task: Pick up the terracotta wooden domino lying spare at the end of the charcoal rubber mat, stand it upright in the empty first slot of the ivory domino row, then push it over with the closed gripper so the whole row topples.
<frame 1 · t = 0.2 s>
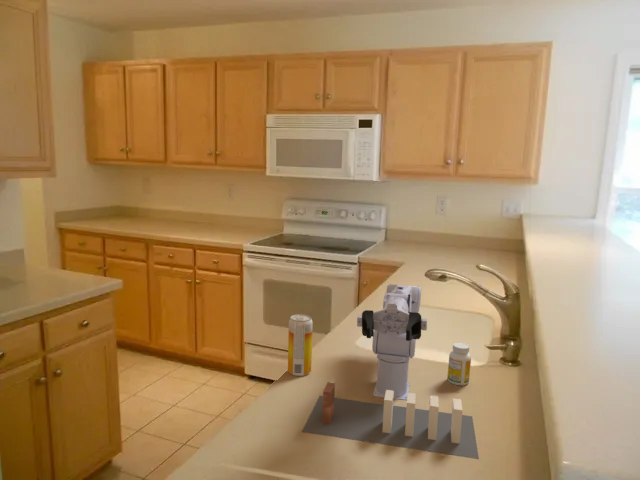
hand: (387, 334, 95), 21 cm above the worktop, tool horizontal, fingers open, 7 cm apart
charcoal mat: (390, 425, 102), on the worktop
supplement bottle: (458, 382, 124), on the worktop
beer can: (299, 374, 126), on the worktop
terracotta domino: (328, 418, 103), resting on charcoal mat
ivory domino 2: (387, 427, 100), resting on charcoal mat
ivory domino 3: (409, 430, 99), resting on charcoal mat
ivory domino 5: (455, 436, 97), resting on charcoal mat
ivory domino 4: (432, 433, 98), resting on charcoal mat
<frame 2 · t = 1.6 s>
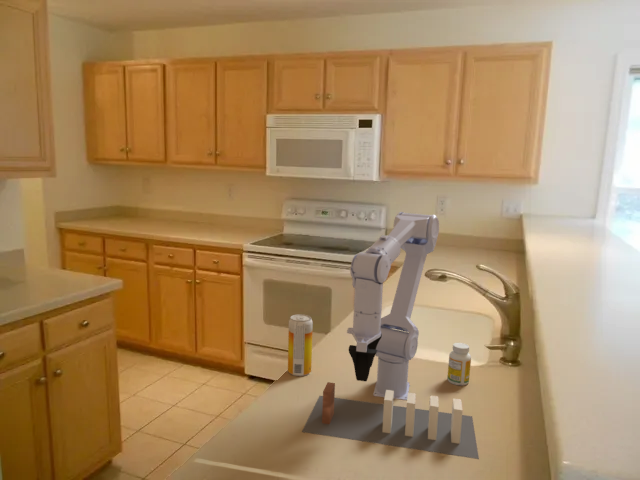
hand: (364, 372, 103), 10 cm above the worktop, tool pointing down, fingers open, 7 cm apart
nothing on the worktop moved.
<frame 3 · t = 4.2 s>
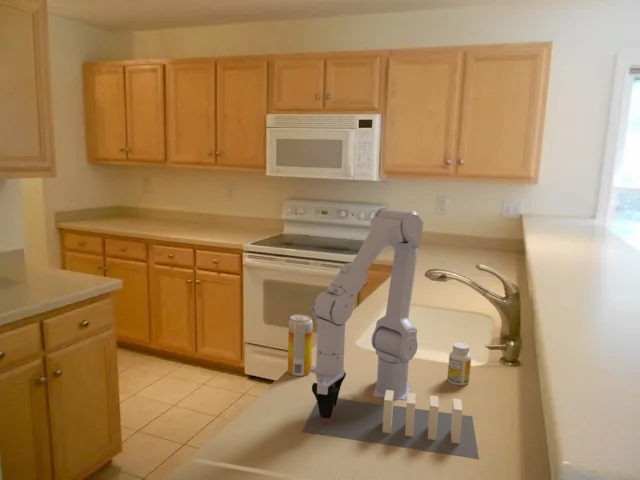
hand: (328, 411, 103), 2 cm above the worktop, tool pointing down, fingers closed on terracotta domino, 4 cm apart
terracotta domino: (328, 418, 103), resting on charcoal mat, touching gripper
everything else where it was.
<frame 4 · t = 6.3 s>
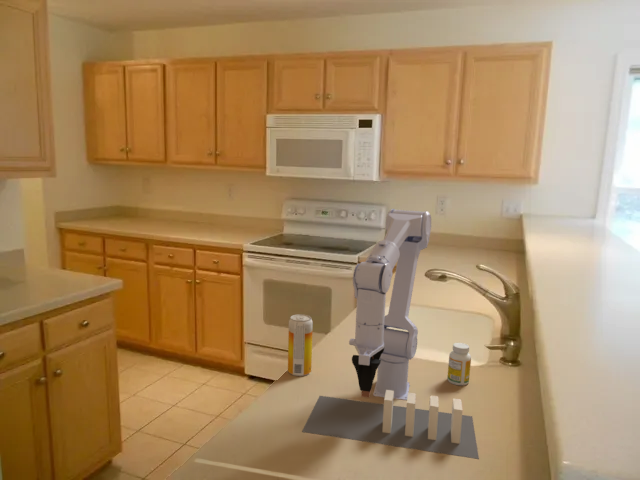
hand: (367, 384, 100), 9 cm above the worktop, tool pointing down, fingers closed on terracotta domino, 4 cm apart
terracotta domino: (366, 392, 100), point 7 cm above the worktop, touching gripper
everything else where it was.
when the fingers open (3 cm above the worktop, at t = 8.3 s): terracotta domino stays where it is, resting on charcoal mat.
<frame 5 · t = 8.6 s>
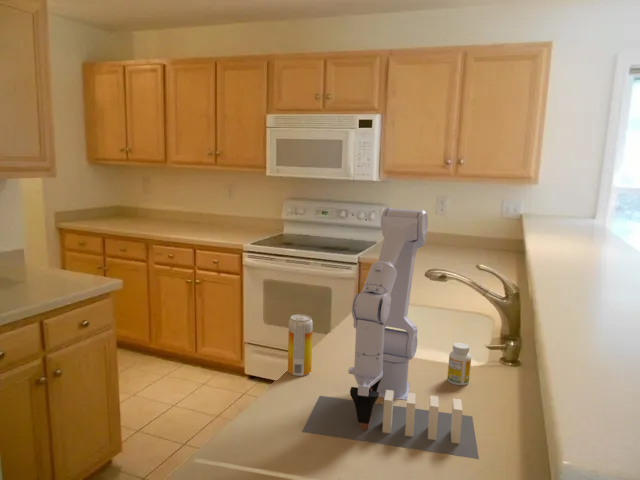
hand: (366, 413, 101), 3 cm above the worktop, tool pointing down, fingers open, 7 cm apart
terracotta domino: (365, 423, 101), resting on charcoal mat
everything else where it was.
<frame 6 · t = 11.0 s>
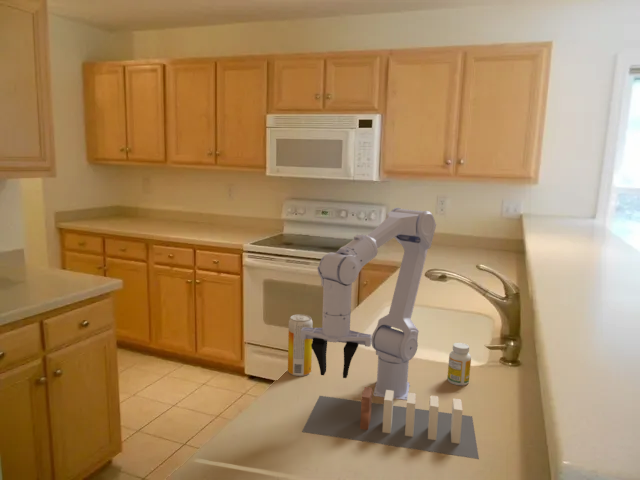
hand: (334, 374, 101), 10 cm above the worktop, tool pointing down, fingers open, 4 cm apart
nothing on the worktop moved.
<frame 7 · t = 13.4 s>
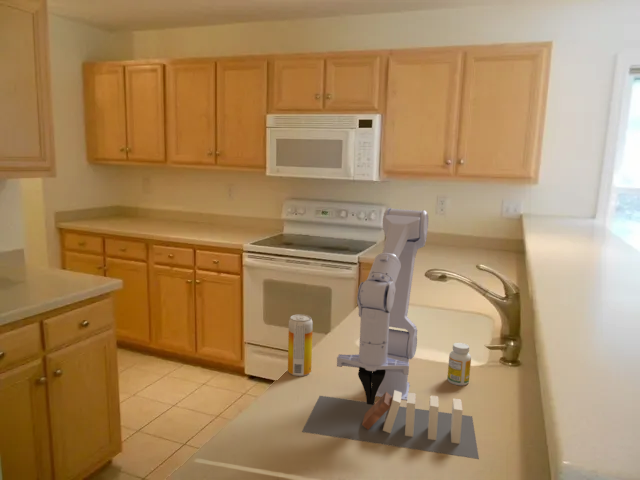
hand: (370, 402, 100), 5 cm above the worktop, tool pointing down, fingers closed
terracotta domino: (366, 421, 101), point 1 cm above the worktop, tilted 37°, touching charcoal mat
ivory domino 2: (387, 426, 100), point 1 cm above the worktop, tilted 14°, touching charcoal mat
everything else where it was.
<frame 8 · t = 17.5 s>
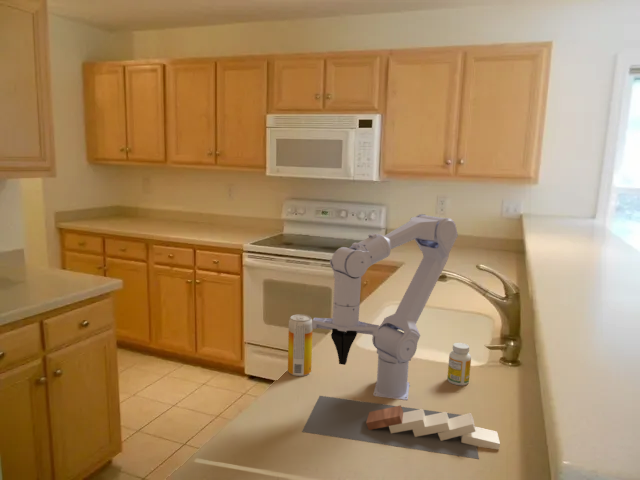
hand: (342, 362, 108), 10 cm above the worktop, tool pointing down, fingers closed
terracotta domino: (368, 420, 101), point 1 cm above the worktop, tilted 69°, touching charcoal mat, ivory domino 2
ivory domino 2: (390, 424, 100), point 1 cm above the worktop, tilted 70°, touching charcoal mat, ivory domino 3, terracotta domino
ivory domino 3: (414, 427, 99), point 1 cm above the worktop, tilted 69°, touching charcoal mat, ivory domino 2, ivory domino 4
ivory domino 5: (461, 432, 97), point 2 cm above the worktop, tilted 96°, touching charcoal mat, ivory domino 4
ivory domino 4: (439, 431, 98), point 1 cm above the worktop, tilted 65°, touching charcoal mat, ivory domino 3, ivory domino 5
everything else where it was.
at the end: ivory domino 5 tilted 96°; ivory domino 3 tilted 69°; terracotta domino inside the target area (0.7 cm from its centre), point 1.2 cm above the worktop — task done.
